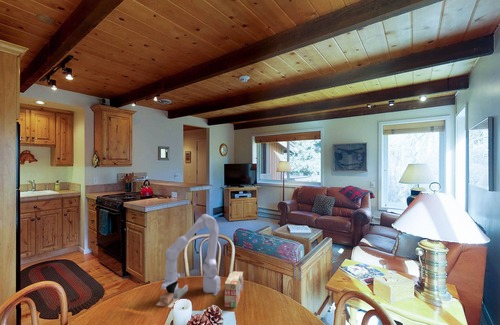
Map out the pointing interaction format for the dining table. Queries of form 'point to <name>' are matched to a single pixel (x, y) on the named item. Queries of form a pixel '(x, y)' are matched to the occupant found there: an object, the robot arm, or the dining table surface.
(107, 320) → the dining table surface
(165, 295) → the block
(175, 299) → the chute
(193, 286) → the dining table surface
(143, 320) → the dining table surface
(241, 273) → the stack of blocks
